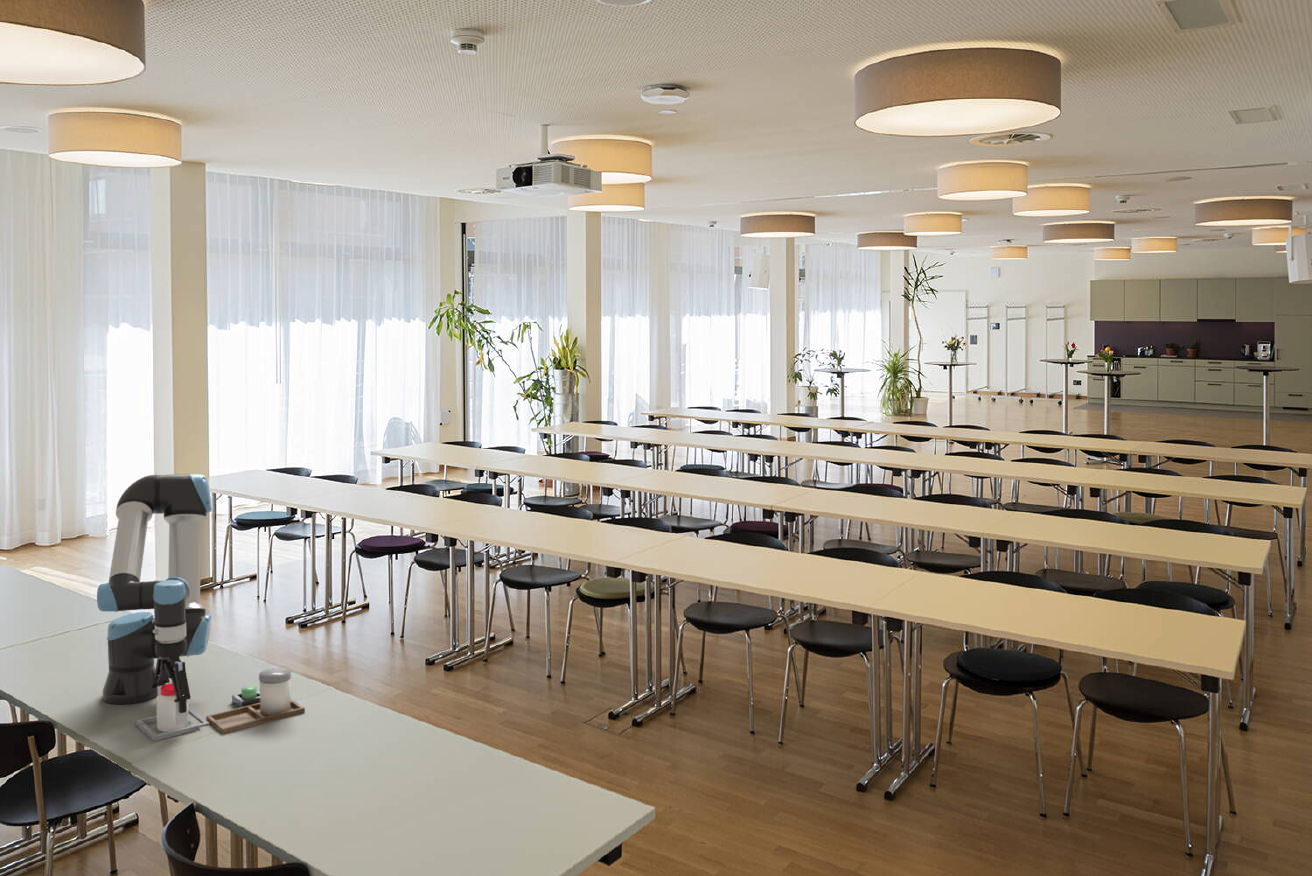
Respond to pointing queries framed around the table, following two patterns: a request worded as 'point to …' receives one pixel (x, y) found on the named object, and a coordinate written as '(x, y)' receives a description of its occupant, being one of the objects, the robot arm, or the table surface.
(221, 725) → the brown divided tray
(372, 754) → the table surface
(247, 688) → the button
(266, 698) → the seated part
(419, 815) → the table surface
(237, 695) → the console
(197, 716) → the tray
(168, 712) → the pill bottle
